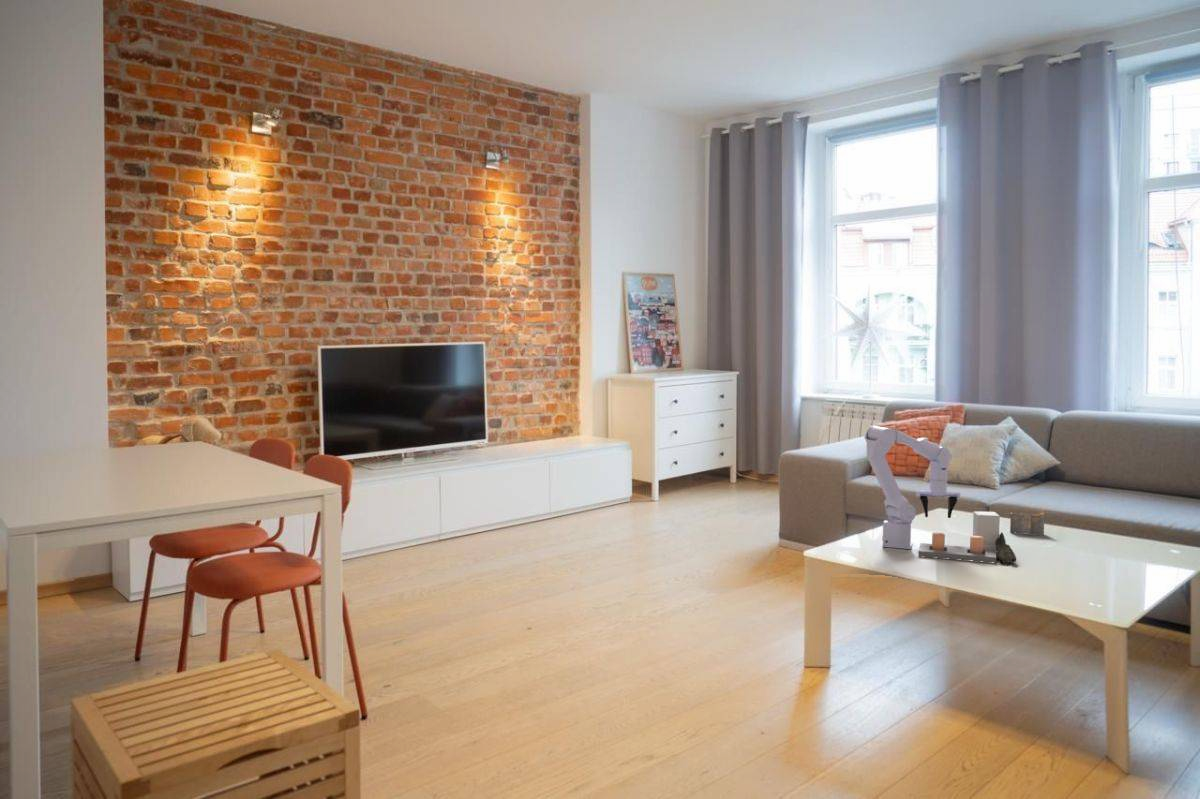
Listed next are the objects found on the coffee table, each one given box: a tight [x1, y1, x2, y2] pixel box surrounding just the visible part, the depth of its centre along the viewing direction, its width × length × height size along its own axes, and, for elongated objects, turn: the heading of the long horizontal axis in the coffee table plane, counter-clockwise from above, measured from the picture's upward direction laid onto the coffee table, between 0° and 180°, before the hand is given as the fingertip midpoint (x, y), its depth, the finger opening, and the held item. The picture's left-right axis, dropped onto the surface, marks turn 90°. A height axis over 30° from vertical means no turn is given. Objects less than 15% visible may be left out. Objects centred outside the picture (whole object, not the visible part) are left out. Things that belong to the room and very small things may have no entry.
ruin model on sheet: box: [1009, 509, 1045, 536], centre depth 332 cm, size 11×3×10 cm, turn 64°
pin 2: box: [969, 535, 983, 554], centre depth 297 cm, size 4×4×7 cm
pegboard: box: [917, 542, 997, 564], centre depth 300 cm, size 24×12×2 cm, turn 67°
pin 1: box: [931, 532, 946, 551], centre depth 302 cm, size 4×4×7 cm
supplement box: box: [972, 511, 1001, 549], centre depth 309 cm, size 7×7×13 cm
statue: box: [996, 532, 1017, 566], centre depth 297 cm, size 6×6×20 cm
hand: (937, 517), depth 318 cm, fingers open, 7 cm apart
